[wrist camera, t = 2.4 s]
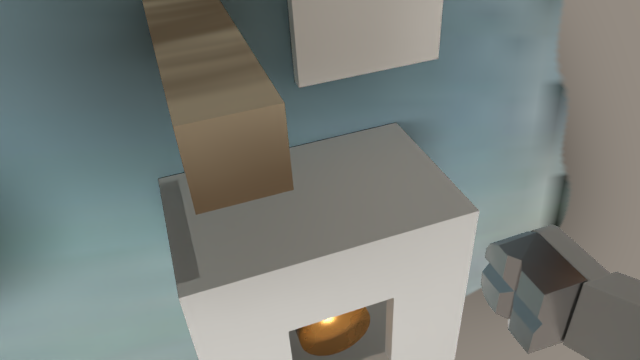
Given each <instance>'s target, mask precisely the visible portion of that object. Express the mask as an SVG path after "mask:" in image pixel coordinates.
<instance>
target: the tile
mask: <svg viewBox="0 0 640 360" xmlns="http://www.w3.org/2000/svg"><path fill="white" fill-rule="evenodd" d="M287 3H288V13H289V24H290V35H291V46H292V57H293V68H294V79H295V82H296V84H297V85H298V87H299V88H300V87H305V86H310V85H315V84H319V83H324V82H329V81H334V80H339V79H343V78H348V77H353V76H358V75H362V74H367V73H372V72H377V71H382V70H386V69H391V68H396V67H401V66H405V65H410V64H415V63H420V62H424V61H429V60H434V59H438V55H439V44H440V32H441V20H442V9H443V0H287Z"/></svg>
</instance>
